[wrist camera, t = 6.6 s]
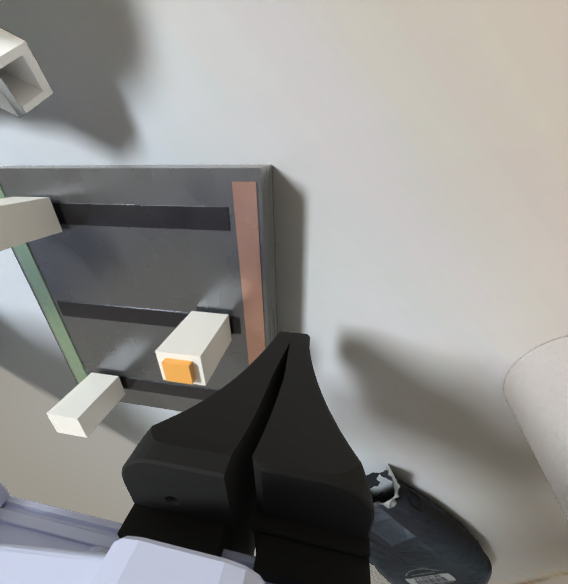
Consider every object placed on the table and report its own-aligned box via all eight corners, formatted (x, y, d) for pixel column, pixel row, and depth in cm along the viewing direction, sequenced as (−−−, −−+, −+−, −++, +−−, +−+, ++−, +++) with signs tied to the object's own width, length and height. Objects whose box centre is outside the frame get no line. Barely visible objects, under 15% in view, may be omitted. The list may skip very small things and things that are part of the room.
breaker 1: (28, 230, 14) (-51, 251, 11) (13, 196, 13) (-76, 210, 10) (62, 231, 13) (-11, 254, 11) (49, 197, 13) (-34, 211, 10)
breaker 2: (99, 390, 19) (57, 432, 16) (91, 372, 18) (46, 413, 15) (125, 393, 19) (87, 437, 16) (118, 376, 18) (76, 418, 15)
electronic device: (304, 475, 26) (409, 579, 27) (295, 541, 21) (426, 667, 22) (386, 427, 23) (501, 547, 24) (400, 492, 18) (546, 640, 19)
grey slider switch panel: (104, 375, 22) (82, 396, 20) (16, 165, 15) (-29, 168, 13) (279, 400, 19) (272, 426, 18) (271, 164, 12) (260, 167, 11)
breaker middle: (196, 336, 15) (159, 384, 12) (191, 311, 14) (150, 355, 11) (231, 340, 15) (202, 390, 12) (228, 314, 14) (196, 361, 11)
